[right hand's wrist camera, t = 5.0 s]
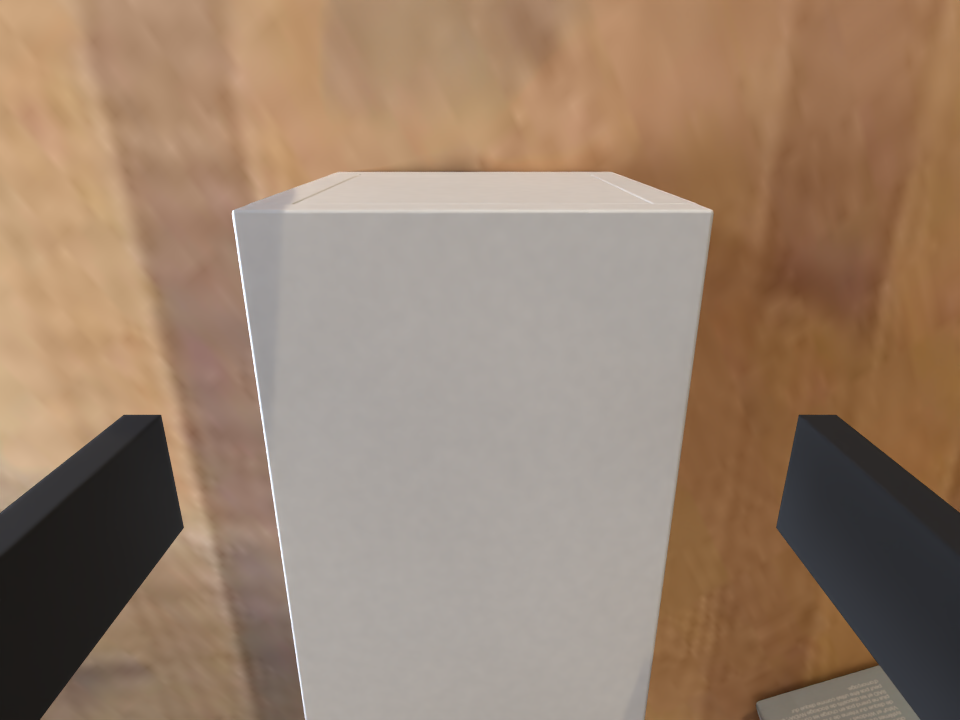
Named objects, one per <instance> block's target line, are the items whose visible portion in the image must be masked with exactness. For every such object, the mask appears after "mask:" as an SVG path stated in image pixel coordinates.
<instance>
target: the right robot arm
mask: <svg viewBox="0 0 960 720" xmlns="http://www.w3.org/2000/svg"><path fill="white" fill-rule="evenodd" d="M183 528H184V526H183V521H182V516H181V511H180V506H179V501H178V496H177V491H176V486H175V481H174V477H173V472H172V467H171V462H170V457H169V452H168V447H167V442H166V437H165V432H164V427H163V422H162V417H161V415H123V416H122V417H121V418H119V419H118V420H117V421H116V422H114V423H113V424H112V425H111V426H109V427H108V428H107V429H105V430H104V431H103V432H102V433H100V434H99V435H98V436H97V437H95V438H94V439H93V440H92V441H90V442H89V443H88V444H87V445H85V446H84V447H83V448H81V449H80V450H79V451H78V452H76V453H75V454H74V455H73V456H71V457H70V458H69V459H68V460H66V461H65V462H64V463H63V464H61V465H60V466H59V467H58V468H56V469H55V470H54V471H52V472H51V473H50V474H49V475H47V476H46V477H45V478H44V479H42V480H41V481H40V482H39V483H37V484H36V485H35V486H34V487H32V488H31V489H30V490H29V491H27V492H26V493H25V494H23V495H22V496H21V497H20V498H18V499H17V500H16V501H15V502H13V503H12V504H11V505H10V506H8V507H7V508H6V509H5V510H3V511H2V512H1V513H0V720H40V719H41V717H42V716H43V715H44V713H45V712H46V711H47V709H48V708H49V707H50V705H51V704H52V703H53V701H54V700H55V699H56V697H57V696H58V695H59V693H60V692H61V691H62V689H63V688H64V687H65V685H66V684H67V683H68V681H69V680H70V679H71V677H72V676H73V675H74V673H75V672H76V671H77V669H78V668H79V667H80V665H81V664H82V663H83V661H84V660H85V659H86V657H87V656H88V655H89V653H90V652H91V651H92V649H93V648H94V647H95V645H96V644H97V643H98V641H99V640H100V639H101V637H102V636H103V635H104V633H105V632H106V631H107V629H108V628H109V627H110V625H111V624H112V623H113V621H114V620H115V619H116V617H117V616H118V615H119V613H120V612H121V611H122V609H123V608H124V607H125V605H126V604H127V603H128V601H129V600H130V599H131V597H132V596H133V595H134V593H135V592H136V591H137V589H138V588H139V587H140V585H141V584H142V583H143V581H144V580H145V579H146V577H147V576H148V575H149V573H150V572H151V571H152V569H153V568H154V567H155V565H156V564H157V563H158V561H159V560H160V559H161V557H162V556H163V555H164V553H165V552H166V551H167V549H168V548H169V547H170V545H171V544H172V543H173V541H174V540H175V539H176V537H177V536H178V535H179V533H180V532H181V531H182V529H183ZM776 528H777V529H778V531H779V532H780V533H781V535H782V536H783V537H784V539H785V540H786V541H787V543H788V544H789V545H790V547H791V548H792V549H793V551H794V552H795V553H796V555H797V556H798V557H799V559H800V560H801V561H802V563H803V564H804V565H805V567H806V568H807V569H808V571H809V572H810V573H811V575H812V576H813V577H814V579H815V580H816V581H817V583H818V584H819V585H820V587H821V588H822V589H823V591H824V592H825V593H826V595H827V596H828V597H829V599H830V600H831V601H832V603H833V604H834V605H835V607H836V608H837V609H838V611H839V612H840V613H841V615H842V616H843V617H844V619H845V620H846V621H847V623H848V624H849V625H850V627H851V628H852V629H853V631H854V632H855V633H856V635H857V636H858V637H859V639H860V640H861V641H862V643H863V644H864V645H865V647H866V648H867V649H868V651H869V652H870V653H871V655H872V656H873V657H874V659H875V660H876V661H877V663H878V664H879V665H880V667H881V668H882V669H883V671H884V672H885V673H886V675H887V676H888V677H889V679H890V680H891V681H892V683H893V684H894V685H895V687H896V688H897V689H898V691H899V692H900V693H901V695H902V696H903V697H904V699H905V700H906V701H907V703H908V704H909V705H910V707H911V708H912V709H913V711H914V712H915V713H916V715H917V716H918V717H919V719H920V720H960V513H959V512H958V511H957V510H955V509H954V508H953V507H952V506H950V505H949V504H948V503H947V502H945V501H944V500H943V499H942V498H940V497H939V496H938V495H937V494H935V493H934V492H933V491H931V490H930V489H929V488H928V487H926V486H925V485H924V484H923V483H921V482H920V481H919V480H918V479H916V478H915V477H914V476H913V475H911V474H910V473H909V472H908V471H906V470H905V469H904V468H902V467H901V466H900V465H899V464H897V463H896V462H895V461H894V460H892V459H891V458H890V457H889V456H887V455H886V454H885V453H884V452H882V451H881V450H880V449H878V448H877V447H876V446H875V445H873V444H872V443H871V442H870V441H868V440H867V439H866V438H865V437H863V436H862V435H861V434H860V433H858V432H857V431H856V430H855V429H853V428H852V427H851V426H849V425H848V424H847V423H846V422H844V421H843V420H842V419H841V418H839V417H838V416H837V415H799V417H798V422H797V427H796V432H795V437H794V442H793V447H792V452H791V457H790V462H789V467H788V472H787V477H786V481H785V486H784V491H783V496H782V501H781V506H780V511H779V516H778V521H777V526H776Z"/></svg>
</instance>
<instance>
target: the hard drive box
mask: <svg viewBox="0 0 960 720" xmlns="http://www.w3.org/2000/svg"><path fill="white" fill-rule="evenodd" d="M756 708H757V712H758V715H759V718H760V720H920V719H919V717H918V716H917V715H916V713H915V712H914V711H913V709H912V708H911V707H910V705H909V704H908V703H907V701H906V700H905V699H904V697H903V696H902V695H901V693H900V692H899V691H898V689H897V688H896V687H895V685H894V684H893V683H892V681H891V680H890V679H889V677H888V676H887V675H886V673H885V672H884V671H883V669H882V668H881V667H880V665H878V666H875V667H871V668H868V669H865V670H861V671H858V672H855V673H852V674H848V675H845V676H841V677H838V678H834V679H831V680H828V681H824V682H821V683H817V684H814V685H811V686H807V687H804V688H801V689H797V690H794V691H791V692H787V693H784V694H781V695H777V696H774V697H771V698H767V699H764V700H761V701H758V702H757V703H756Z"/></svg>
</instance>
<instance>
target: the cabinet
mask: <svg viewBox="0 0 960 720" xmlns="http://www.w3.org/2000/svg"><path fill="white" fill-rule="evenodd" d="M713 214H714V213H713V210H711V209H708V208H706V207H703V206H700V205H698V204H697V203H694V202H691V201H689V200H686V199H683V198H681V197H678V196H675V195H672V194H670V193H667V192H664V191H662V190H659V189H656V188H654V187H651V186H648V185H646V184H643V183H640V182H638V181H635V180H632V179H629V178H627V177H624V176H621V175H619V174H616V173H613V172H337V173H334V174H331V175H329V176H326V177H323V178H320V179H317V180H315V181H312V182H309V183H306V184H303V185H301V186H298V187H295V188H292V189H289V190H287V191H284V192H281V193H278V194H275V195H273V196H270V197H267V198H264V199H261V200H259V201H256V202H253V203H250V204H249V205H246V206H243V207H240V208H238V209H235V210H233V212H232V217H233V223H234V230H235V237H236V244H237V251H238V258H239V265H240V272H241V279H242V286H243V293H244V299H245V306H246V313H247V320H248V327H249V334H250V341H251V348H252V355H253V362H254V369H255V375H256V382H257V389H258V396H259V403H260V410H261V417H262V424H263V431H264V438H265V445H266V451H267V458H268V465H269V472H270V479H271V486H272V493H273V500H274V507H275V514H276V520H277V527H278V534H279V541H280V548H281V555H282V562H283V569H284V576H285V583H286V590H287V596H288V603H289V610H290V617H291V624H292V631H293V638H294V645H295V652H296V659H297V666H298V672H299V679H300V686H301V693H302V700H303V707H304V714H305V720H644V719H645V712H646V705H647V697H648V690H649V683H650V675H651V668H652V661H653V653H654V646H655V639H656V631H657V624H658V617H659V609H660V602H661V595H662V587H663V580H664V573H665V565H666V558H667V551H668V543H669V536H670V529H671V521H672V514H673V507H674V499H675V492H676V485H677V477H678V470H679V463H680V455H681V448H682V441H683V433H684V426H685V419H686V411H687V404H688V397H689V389H690V382H691V375H692V368H693V360H694V353H695V346H696V338H697V331H698V324H699V316H700V309H701V302H702V294H703V287H704V280H705V272H706V265H707V258H708V250H709V243H710V236H711V228H712V221H713Z"/></svg>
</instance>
